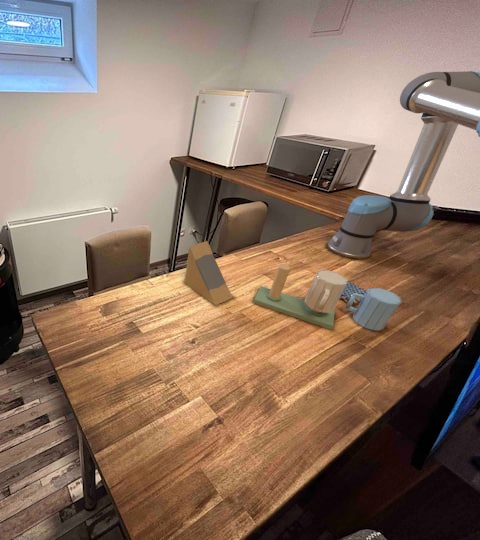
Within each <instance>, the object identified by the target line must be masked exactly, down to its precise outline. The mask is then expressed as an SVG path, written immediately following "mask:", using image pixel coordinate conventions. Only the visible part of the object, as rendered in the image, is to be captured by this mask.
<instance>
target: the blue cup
mask: <svg viewBox="0 0 480 540" xmlns="http://www.w3.org/2000/svg"><path fill="white" fill-rule="evenodd" d="M366 291H367V292H366ZM366 291H365V292H366V293H365V295H361V294H357V293H353V294H352V296H351V298H350V300H349V301H348V303H347V302H346V305H345V306H344V308H345V310H346V311H349V312H353V314H352V319H353V320H354V322H355V323H356V324H358V325H359V326H361V327H363V328H365V329H368V330H371V331H378V332H379V331H382V330H384V329H385V327H386V326H387V325H388V323H389V321H390V320H391V319H392V317H393V315H394V314H395V313H396V311H397V310H398V308H399V307H400V305H401V304H402V298H401V297H400V296H399V295H397V294H396V293H394V292H392V291H391V290H389V289H385V288H381V287H370V288H368V289H367V290H366ZM355 298H359V299H362V300H360V301H359V304H358V306H357V307H354V306H353V305H352V303H353V302H354V300H355ZM353 304H354V303H353Z"/></svg>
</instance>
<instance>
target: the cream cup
mask: <svg viewBox="0 0 480 540" xmlns="http://www.w3.org/2000/svg"><path fill="white" fill-rule="evenodd" d="M347 282H348V278H346V277H345V276H344V275H343V274H341V273H339V272H336V271H332V270H329V269H319V270H317V271H316V272H315V274H314V277H313V279H312V281H311V284H310V286H309V288H308V290H307V292H306V295H305V296H304V299H303V300H304V302H305V303H306V305H307V306H308V307H310V308H312V309H314V310H316V311H319V312H326V313H328V312H331V311H333V310H334V309H335V308H336V306H337V304H338V302H339V300H340V299H341V298H340V296H341V294H342V292H343V291H344V289H345V287H346V285H347Z"/></svg>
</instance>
